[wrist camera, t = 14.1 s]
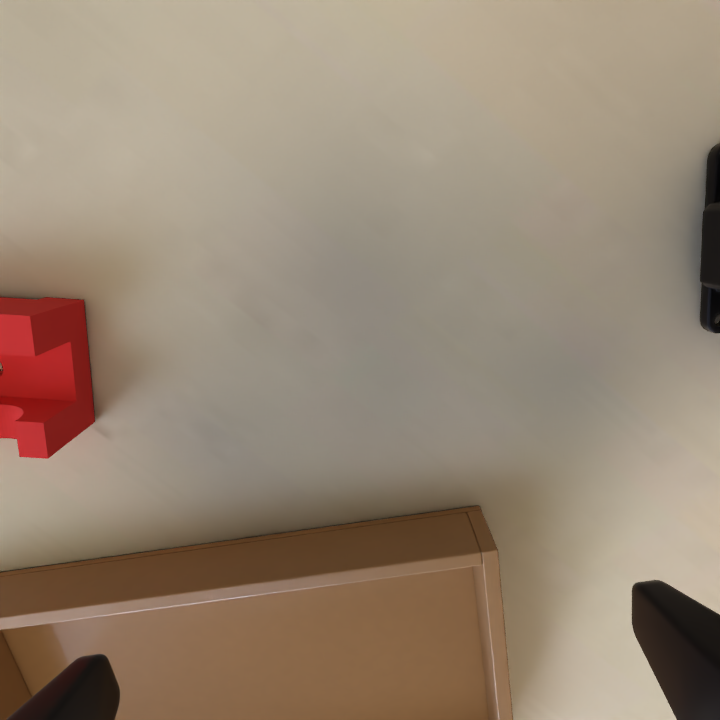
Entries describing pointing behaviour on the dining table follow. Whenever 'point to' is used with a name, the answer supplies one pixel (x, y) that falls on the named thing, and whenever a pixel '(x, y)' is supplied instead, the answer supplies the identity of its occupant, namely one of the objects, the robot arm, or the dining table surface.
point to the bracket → (44, 373)
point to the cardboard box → (277, 625)
